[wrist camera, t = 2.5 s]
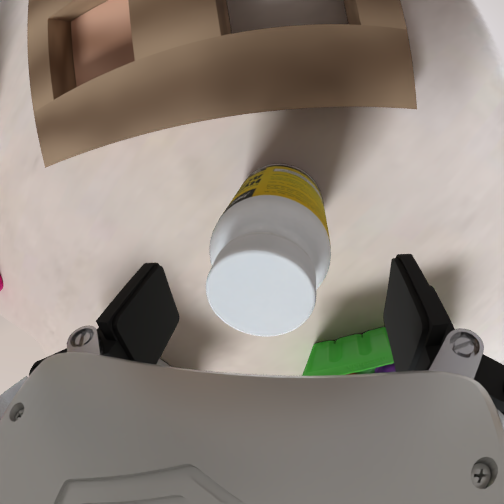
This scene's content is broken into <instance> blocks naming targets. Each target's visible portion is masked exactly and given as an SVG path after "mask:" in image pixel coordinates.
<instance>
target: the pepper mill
mask: <svg viewBox="0 0 504 504" xmlns="http://www.w3.org/2000/svg"><path fill="white" fill-rule="evenodd" d="M2 288H3V281H2V278H1V275H0V291H1V290H2Z"/></svg>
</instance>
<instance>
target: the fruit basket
mask: <svg viewBox="0 0 504 504" xmlns="http://www.w3.org/2000/svg"><path fill="white" fill-rule="evenodd" d="M387 372H396V370H395V365H394V360H393V356H392V352H391V348H390V343H389V339H388V335H387V331H386V328H385V327H381V328H377V329H374V330H370V331H367V332H365V333H363V335H361V334H354V335H350V336H346V337H342V338H339V339H337V340H336V341H325V342H320V343H316V344H314V345H313V348H312V351H311V354H310V356H309V359H308V362H307V364H306V367H305V370H304V372H303V375H302V376H326V375H354V374H372V373H387Z"/></svg>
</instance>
